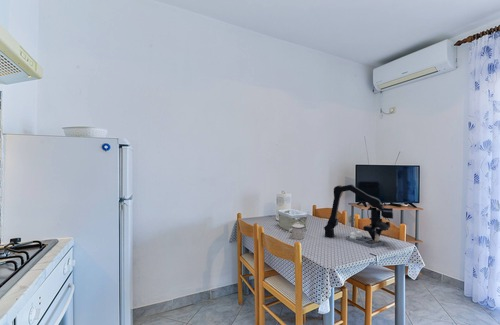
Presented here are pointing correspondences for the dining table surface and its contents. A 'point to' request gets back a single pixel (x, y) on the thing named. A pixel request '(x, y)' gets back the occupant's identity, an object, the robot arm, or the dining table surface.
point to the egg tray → (365, 241)
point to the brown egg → (376, 238)
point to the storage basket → (291, 218)
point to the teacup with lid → (297, 231)
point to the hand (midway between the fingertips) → (375, 239)
